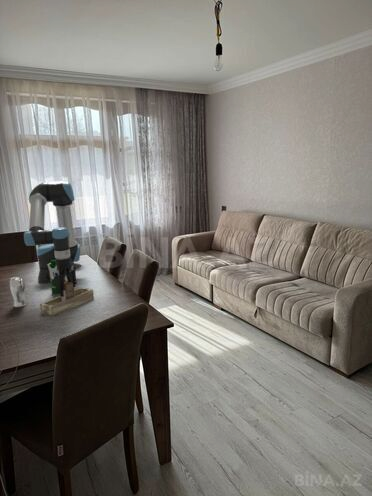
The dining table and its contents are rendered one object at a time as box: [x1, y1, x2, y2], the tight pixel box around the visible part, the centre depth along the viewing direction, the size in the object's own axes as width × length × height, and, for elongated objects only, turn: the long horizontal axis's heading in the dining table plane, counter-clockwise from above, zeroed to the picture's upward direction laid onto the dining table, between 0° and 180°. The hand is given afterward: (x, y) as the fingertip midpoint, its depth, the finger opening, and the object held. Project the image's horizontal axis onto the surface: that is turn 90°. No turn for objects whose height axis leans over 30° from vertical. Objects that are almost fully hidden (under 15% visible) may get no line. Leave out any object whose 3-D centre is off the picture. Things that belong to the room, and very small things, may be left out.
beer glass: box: [9, 276, 27, 308], centre depth 185 cm, size 7×7×15 cm
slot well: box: [39, 286, 95, 317], centre depth 184 cm, size 9×27×5 cm, turn 150°
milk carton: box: [47, 260, 68, 295], centre depth 203 cm, size 9×9×20 cm
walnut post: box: [64, 280, 74, 300], centre depth 182 cm, size 4×4×10 cm
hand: (68, 300), depth 183 cm, fingers closed on walnut post, 4 cm apart
